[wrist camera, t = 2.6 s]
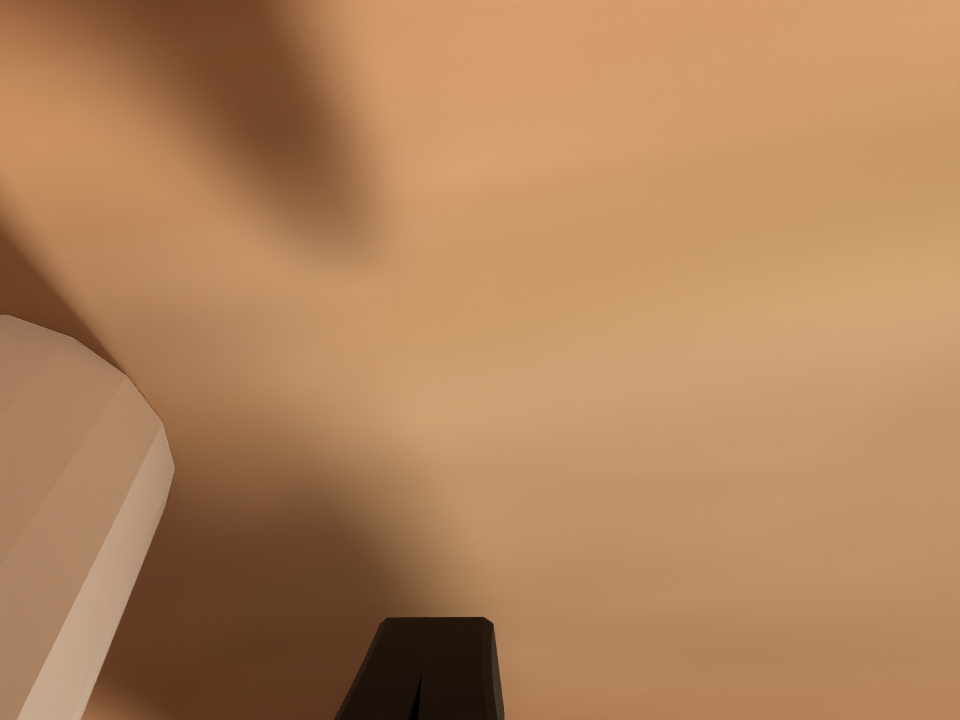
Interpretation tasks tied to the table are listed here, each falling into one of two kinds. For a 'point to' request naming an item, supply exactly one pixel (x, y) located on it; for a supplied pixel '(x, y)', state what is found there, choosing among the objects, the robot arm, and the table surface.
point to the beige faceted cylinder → (69, 514)
